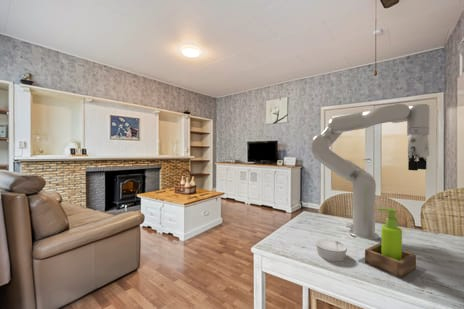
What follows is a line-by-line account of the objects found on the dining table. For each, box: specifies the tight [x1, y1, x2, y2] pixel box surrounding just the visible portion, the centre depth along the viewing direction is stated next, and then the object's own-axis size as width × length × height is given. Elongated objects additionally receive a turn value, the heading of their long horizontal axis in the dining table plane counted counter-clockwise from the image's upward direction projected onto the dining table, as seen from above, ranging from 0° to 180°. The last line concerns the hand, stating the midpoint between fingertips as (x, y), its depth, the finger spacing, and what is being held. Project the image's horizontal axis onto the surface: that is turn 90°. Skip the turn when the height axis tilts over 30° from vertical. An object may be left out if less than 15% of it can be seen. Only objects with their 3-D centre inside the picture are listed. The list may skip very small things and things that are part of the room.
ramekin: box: [315, 238, 348, 262], centre depth 85 cm, size 11×11×5 cm
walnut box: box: [364, 242, 417, 279], centre depth 77 cm, size 11×11×5 cm
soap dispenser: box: [378, 207, 403, 261], centre depth 77 cm, size 6×7×20 cm
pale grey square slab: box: [357, 256, 428, 284], centre depth 77 cm, size 16×15×1 cm
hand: (417, 169), depth 96 cm, fingers open, 9 cm apart
